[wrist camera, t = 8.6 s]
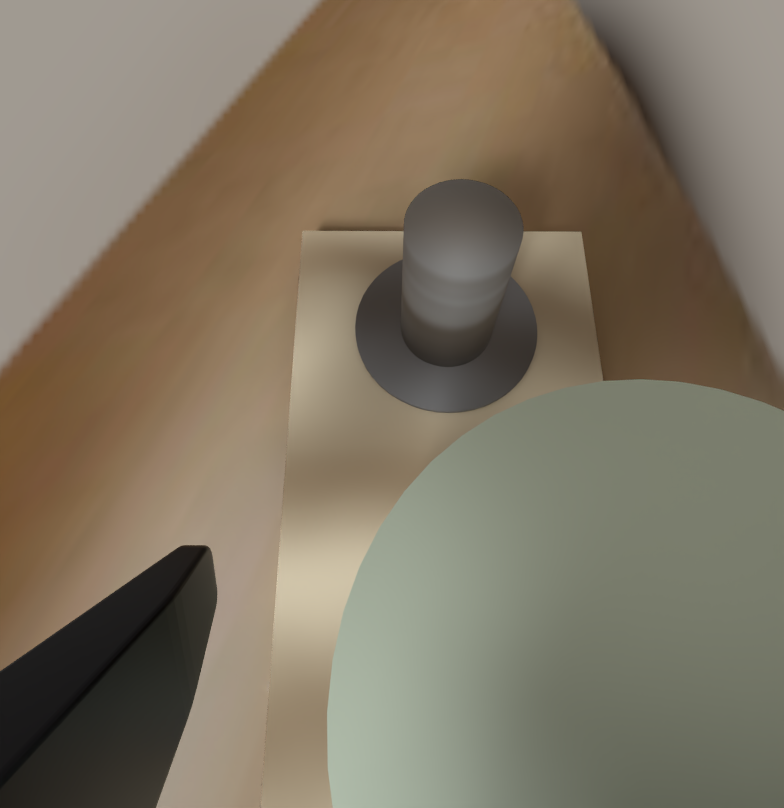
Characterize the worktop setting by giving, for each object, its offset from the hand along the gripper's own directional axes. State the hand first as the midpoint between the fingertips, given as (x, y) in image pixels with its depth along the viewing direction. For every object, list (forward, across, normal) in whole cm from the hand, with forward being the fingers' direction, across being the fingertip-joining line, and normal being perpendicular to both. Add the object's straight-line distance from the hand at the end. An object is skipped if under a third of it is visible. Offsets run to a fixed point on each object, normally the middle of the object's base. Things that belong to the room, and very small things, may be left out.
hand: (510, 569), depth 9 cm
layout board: (+8, 0, +5) cm, 10 cm away
